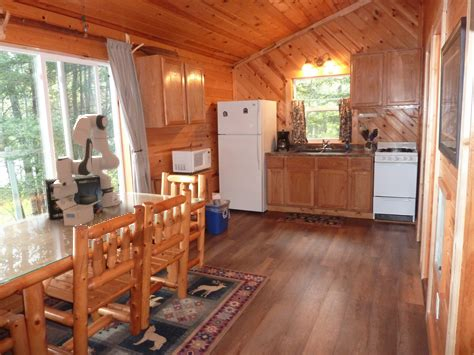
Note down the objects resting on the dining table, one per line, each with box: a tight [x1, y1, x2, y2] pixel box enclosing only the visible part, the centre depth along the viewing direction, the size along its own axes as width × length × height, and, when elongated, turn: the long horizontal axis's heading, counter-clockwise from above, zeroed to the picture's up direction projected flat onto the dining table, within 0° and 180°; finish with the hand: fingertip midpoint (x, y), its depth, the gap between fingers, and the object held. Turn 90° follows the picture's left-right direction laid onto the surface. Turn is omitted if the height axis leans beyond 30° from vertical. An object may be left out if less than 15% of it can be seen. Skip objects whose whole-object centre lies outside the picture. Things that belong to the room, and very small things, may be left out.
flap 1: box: [56, 196, 77, 210], centre depth 242 cm, size 15×7×1 cm
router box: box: [44, 174, 103, 221], centre depth 260 cm, size 36×11×27 cm, turn 123°
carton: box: [63, 205, 95, 227], centre depth 242 cm, size 17×11×10 cm, turn 170°
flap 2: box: [80, 200, 101, 211], centre depth 239 cm, size 15×7×1 cm, turn 170°
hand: (67, 202), depth 241 cm, fingers open, 8 cm apart
